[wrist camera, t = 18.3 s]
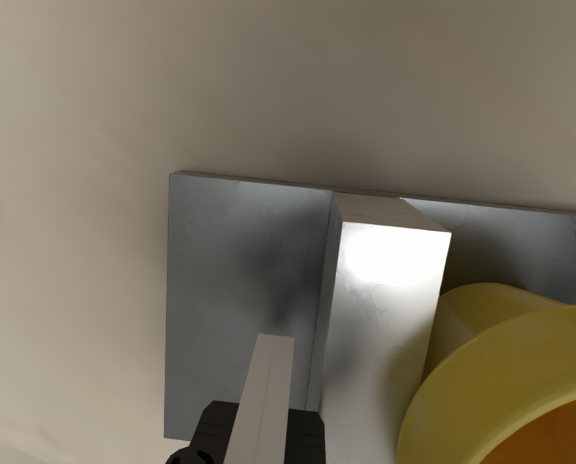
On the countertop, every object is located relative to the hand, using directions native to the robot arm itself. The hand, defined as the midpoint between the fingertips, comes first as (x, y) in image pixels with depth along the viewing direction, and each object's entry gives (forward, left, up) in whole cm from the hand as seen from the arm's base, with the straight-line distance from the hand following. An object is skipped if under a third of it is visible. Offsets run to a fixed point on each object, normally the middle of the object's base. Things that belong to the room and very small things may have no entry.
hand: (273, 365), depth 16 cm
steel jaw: (0, +3, -3) cm, 4 cm away
